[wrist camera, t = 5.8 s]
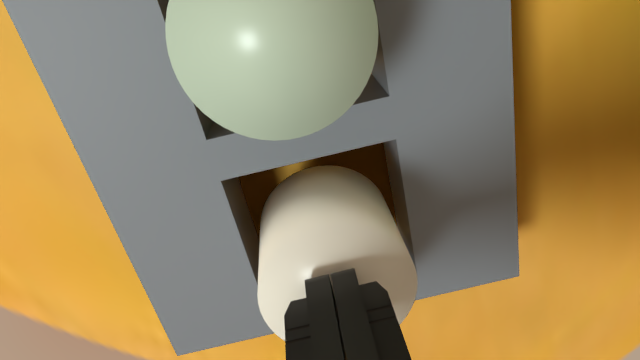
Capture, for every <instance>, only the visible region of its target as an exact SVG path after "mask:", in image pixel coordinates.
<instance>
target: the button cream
mask: <svg viewBox="0 0 640 360" xmlns="http://www.w3.org/2000/svg"><path fill="white" fill-rule="evenodd" d="M352 268H354V269H355V272H356V276H357V279H358V283H359V285H361V284H366V283H370V282H374V281H377V282H378V283H379V284H380V285H381V286H382V287H383V288H385V289H386V290H387V291H388V294H389V297H390V300H391V303H392V306H393V309H394V311H395V314H396V318H397V320H398V323H399V325H400V324H401V323H402V321H403V320H404V319H405V317H406V316H407V315H408V313H409V311H410V310H411V308H412V306H413V303H414V301H415V297H416V293H417V285H418V282H417V273H416V269H415V266H414V263H413V261H412V259H411V256H410V254H409V252H408V250H407V248H406V245H405V243H404V241H403V239H402V237H401V234H400V232H399V230H398V228H397V226H396V223H395V221H394V219H393V217H392V215H391V212H390V210H389V208H388V206H387V204H386V201H385V199H384V197H383V195H382V193H381V192H380V190H379V189H378V188H377V186H376V185H375V184H374V183H373V182H372V181H371V180H370V179H368V178H367V177H366V176H364V175H362V174H361V173H359V172H357V171H355V170H352V169H349V168H346V167H340V166H331V165H325V166H316V167H310V168H307V169H304V170H301V171H299V172H296V173H294V174H292V175H291V176H289V177H287V178H286V179H285V180H283V181H282V182H281V183H280V184H279V185H278V186H277V187H276V188H275V189H274V190H273V191H272V192H271V194H270V195H269V197H268V198H267V200H266V202H265V204H264V207H263V210H262V214H261V222H260V244H259V268H258V293H257V297H258V305H259V309H260V312H261V314H262V316H263V319H264V320H265V322H266V323H267V325H268V326H269V328H270V329H271V330H272V331H273V332H274V333H275V334H276V335H277V336H279V337H280V338H281V339H283V340H284V341H285V324H284V315H285V313H286V310H287V308H288V306H289V304H290V302H291V301H294V300H298V299H303V298H306V290H305V280H306V279H310V278H314V277H318V276H323V275H327V274H329V277H330V281H331V285H332V288H333V284H332V279H331V273H335V272H339V271H343V270H347V269H352ZM333 292H334V289H333ZM334 296H335V294H334Z"/></svg>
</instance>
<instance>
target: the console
mask: <svg viewBox="0 0 640 360" xmlns="http://www.w3.org/2000/svg"><path fill="white" fill-rule="evenodd" d="M2 1H3V3H4V5H5V7H6V9H7V11H8V13H9V15H10V17H11V19H12V21H13V23H14V25H15V27H16V29H17V31H18V33H19V36H20V38H21V40H22V42H23V44H24V46H25V48H26V50H27V52H28V54H29V56H30V58H31V60H32V62H33V64H34V66H35V68H36V70H37V72H38V74H39V76H40V78H41V80H42V82H43V84H44V86H45V88H46V90H47V92H48V94H49V96H50V98H51V100H52V102H53V104H54V107H55V109H56V111H57V113H58V115H59V117H60V119H61V121H62V123H63V125H64V127H65V129H66V131H67V133H68V135H69V137H70V139H71V141H72V143H73V145H74V147H75V149H76V151H77V153H78V155H79V157H80V159H81V161H82V163H83V165H84V167H85V169H86V171H87V173H88V175H89V178H90V180H91V182H92V184H93V186H94V188H95V190H96V192H97V194H98V196H99V198H100V200H101V202H102V204H103V206H104V208H105V210H106V212H107V214H108V216H109V218H110V220H111V222H112V224H113V226H114V228H115V230H116V232H117V234H118V236H119V238H120V240H121V242H122V244H123V247H124V249H125V251H126V253H127V255H128V257H129V259H130V261H131V263H132V265H133V267H134V269H135V271H136V273H137V275H138V277H139V279H140V281H141V283H142V285H143V287H144V289H145V291H146V293H147V295H148V297H149V299H150V301H151V303H152V305H153V307H154V309H155V311H156V313H157V315H158V318H159V320H160V322H161V324H162V326H163V328H164V330H165V332H166V334H167V336H168V338H169V340H170V342H171V344H172V346H173V348H174V350H175V352H176V354H177V356H179V355H183V354H188V353H192V352H196V351H201V350H205V349H209V348H213V347H218V346H222V345H226V344H231V343H235V342H239V341H243V340H248V339H252V338H256V337H260V336H265V335H269V334H273V333H274V332H273V331H272V330H271V329H270V328H269V326H268V325H267V323H266V322H265V320H264V319H263V316H262V314H261V312H260V309H259V305H258V297H257V293H258V268H259V244H260V242H259V238H258V235H257V232H256V229H255V226H254V223H253V220H252V217H251V214H250V211H249V208H248V205H247V202H246V199H245V196H244V193H243V190H242V187H241V184H240V181H239V178H238V177H239V176H244V175H248V174H252V173H256V172H260V171H265V170H269V169H273V168H277V167H281V166H286V165H290V164H294V163H298V162H302V161H307V160H311V159H315V158H319V157H323V156H328V155H332V154H336V153H340V152H344V151H349V150H353V149H357V148H361V147H365V146H370V145H374V144H378V143H382V142H383V144H384V150H385V156H386V162H387V168H388V174H389V180H390V186H391V192H392V198H393V204H394V210H395V216H396V221H397V227H398V230H399V232H400V234H401V237H402V239H403V241H404V243H405V245H406V248H407V250H408V252H409V254H410V256H411V259H412V261H413V263H414V266H415V269H416V273H417V282H418V285H417V293H416V297H415V300H419V299H423V298H427V297H432V296H436V295H440V294H444V293H449V292H453V291H457V290H462V289H466V288H470V287H474V286H479V285H483V284H487V283H491V282H496V281H500V280H504V279H509V278H513V277H517V276H519V252H518V220H517V187H516V155H515V123H514V91H513V59H512V27H511V0H373V1H374V5H375V10H376V14H377V21H378V48H377V54H376V59H375V63H374V66H373V70H372V74H371V75H370V77H369V80H368V82H367V84H366V86H365V88H364V89H363V91H362V93H361V94H360V96H359V97H358V99H357V100H356V101H355V102H354V104H353V105H352V106H351V107H350V108H349V109H348V110H347V111H346V112H345V113H344V114H343V115H342V116H341V117H340V118H338V119H337V120H336V121H334V122H333V123H332V124H330V125H328V126H327V127H325V128H323V129H321V130H319V131H317V132H315V133H312V134H310V135H307V136H303V137H300V138H295V139H289V140H277V141H272V140H260V139H255V138H250V137H246V136H243V135H240V134H237V133H235V132H232V131H230V130H228V129H226V128H224V127H222V126H221V125H219V124H217V123H216V122H214V121H213V120H212V119H210V118H209V117H208V116H207V115H205V114H204V113H203V112H202V111H201V110H200V109H199V108H198V107H197V106H196V105H195V104H194V103H193V102H192V101H191V99H190V98H189V97H188V95H187V94H186V93H185V91H184V90H183V88H182V86H181V84H180V83H179V81H178V79H177V77H176V75H175V72H174V70H173V68H172V65H171V61H170V58H169V55H168V50H167V43H166V31H165V22H166V12H167V6H168V2H169V0H2Z"/></svg>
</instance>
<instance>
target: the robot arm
mask: <svg viewBox="0 0 640 360" xmlns="http://www.w3.org/2000/svg"><path fill="white" fill-rule="evenodd" d="M331 279H332V284H333V288H332V285H331V281H330V277H329V274H327V275H323V276H318V277H314V278H310V279H306V280H305V290H306V298H303V299H298V300H294V301H291V302H290V304H289V306H288V308H287V310H286V313H285V315H284V324H285V343H286V345H285V347H286V360H411V357H410V354H409V352H408V349H407V346H406V343H405V340H404V337H403V334H402V331H401V329H400V326H399V323H398V320H397V318H396V314H395V311H394V309H393V306H392V303H391V300H390V297H389V294H388V291H387V290H386V289H385V288H383V287H382V286H381V285H380V284H379V283H378V282H377V281H374V282H370V283H366V284H361V285H359V283H358V279H357V276H356V272H355V269H354V268H352V269H347V270H343V271H339V272H335V273H331ZM333 289H334V292H333ZM334 294H335V296H334Z"/></svg>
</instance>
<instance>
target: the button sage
mask: <svg viewBox="0 0 640 360" xmlns="http://www.w3.org/2000/svg"><path fill="white" fill-rule="evenodd" d="M165 31H166V43H167V50H168V55H169V58H170V61H171V65H172V68H173V70H174V72H175V75H176V77H177V79H178V81H179V83H180V84H181V86H182V88H183V90H184V91H185V93H186V94H187V95H188V97H189V98H190V99H191V101H192V102H193V103H194V104H195V105H196V106H197V107H198V108H199V109H200V110H201V111H202V112H203V113H204V114H205V115H207V116H208V117H209V118H210V119H212V120H213V121H214V122H216V123H217V124H219V125H221V126H222V127H224V128H226V129H228V130H230V131H232V132H235V133H237V134H240V135H243V136H246V137H250V138H255V139H260V140H272V141H277V140H289V139H295V138H300V137H303V136H307V135H310V134H312V133H315V132H317V131H319V130H321V129H323V128H325V127H327V126H328V125H330V124H332V123H333V122H334V121H336V120H337V119H338V118H340V117H341V116H342V115H343V114H344V113H345V112H346V111H347V110H348V109H349V108H350V107H351V106H352V105H353V104H354V102H355V101H356V100H357V99H358V97H359V96H360V94H361V93H362V91H363V89H364V88H365V86H366V84H367V82H368V80H369V77H370V75H371V73H372V70H373V66H374V63H375V59H376V54H377V48H378V21H377V14H376V10H375V5H374V1H373V0H169V2H168V6H167V12H166V22H165Z"/></svg>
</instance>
